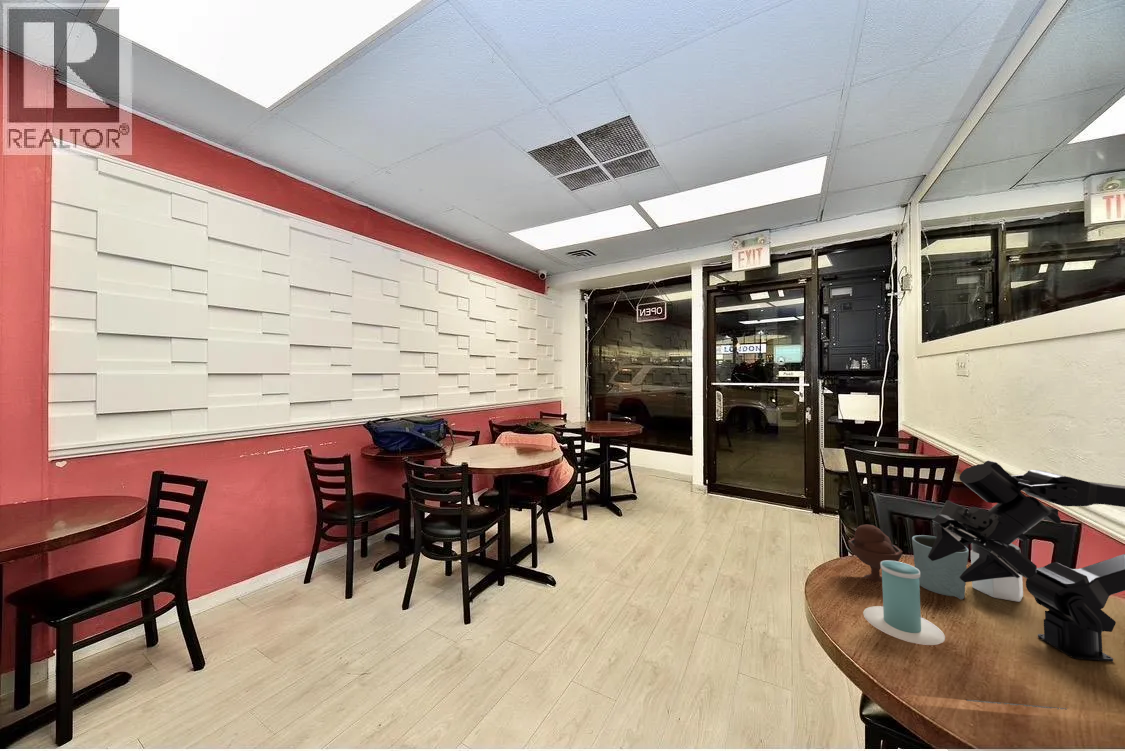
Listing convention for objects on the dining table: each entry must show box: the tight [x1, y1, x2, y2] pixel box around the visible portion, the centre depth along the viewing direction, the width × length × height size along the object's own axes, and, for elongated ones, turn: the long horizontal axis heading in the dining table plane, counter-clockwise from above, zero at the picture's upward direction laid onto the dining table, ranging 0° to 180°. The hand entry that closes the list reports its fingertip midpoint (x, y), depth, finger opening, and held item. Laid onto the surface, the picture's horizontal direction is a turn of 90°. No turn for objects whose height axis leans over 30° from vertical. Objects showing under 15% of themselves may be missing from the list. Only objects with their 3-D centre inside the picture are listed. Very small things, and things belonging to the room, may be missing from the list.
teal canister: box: [880, 560, 922, 633], centre depth 81 cm, size 6×6×12 cm
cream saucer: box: [862, 605, 946, 646], centre depth 81 cm, size 13×13×1 cm
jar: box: [970, 539, 1024, 603], centre depth 94 cm, size 9×8×12 cm
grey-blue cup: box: [911, 534, 970, 601], centre depth 95 cm, size 10×10×12 cm
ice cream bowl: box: [847, 524, 903, 583], centre depth 100 cm, size 11×11×15 cm
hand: (945, 568), depth 79 cm, fingers open, 9 cm apart
